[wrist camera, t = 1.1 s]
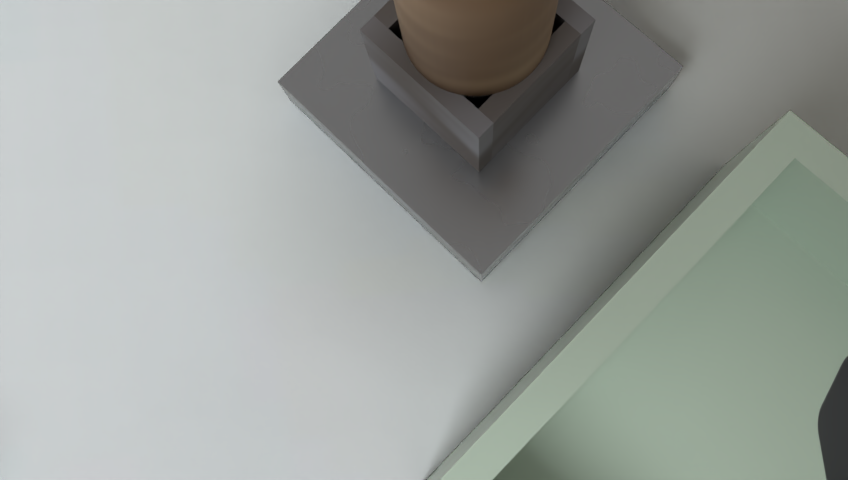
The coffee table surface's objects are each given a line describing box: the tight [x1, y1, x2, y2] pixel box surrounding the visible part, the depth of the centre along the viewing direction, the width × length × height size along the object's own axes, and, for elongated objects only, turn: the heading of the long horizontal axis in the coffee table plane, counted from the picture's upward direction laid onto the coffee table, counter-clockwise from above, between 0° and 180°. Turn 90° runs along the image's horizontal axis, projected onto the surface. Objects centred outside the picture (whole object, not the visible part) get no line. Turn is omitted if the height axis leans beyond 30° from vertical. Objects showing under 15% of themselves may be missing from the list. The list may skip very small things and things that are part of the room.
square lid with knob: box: [278, 0, 683, 281], centre depth 20 cm, size 8×8×4 cm
